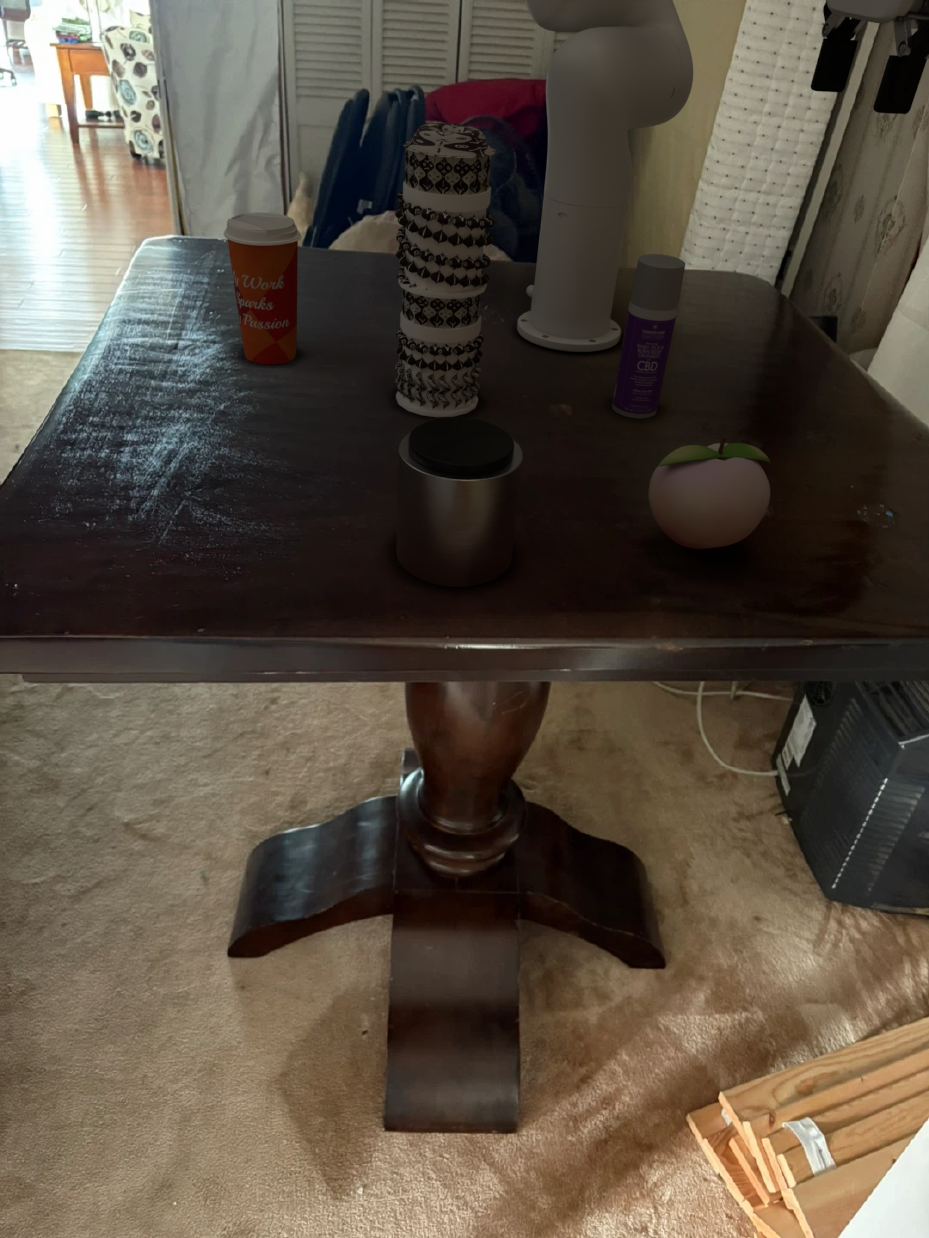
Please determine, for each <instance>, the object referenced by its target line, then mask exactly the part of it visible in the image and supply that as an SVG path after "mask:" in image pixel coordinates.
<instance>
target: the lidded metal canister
mask: <svg viewBox="0 0 929 1238" xmlns="http://www.w3.org/2000/svg"><path fill="white" fill-rule="evenodd" d="M397 457H398V460H397V461H398V462H397V500H396V501H397V503H396V504H397V506H396V507H397V508H396V547H395V548H396V551H395V552H396V558H397V561H398V562H399V564H400V566H401V567H402V568H403V570H405V571H406V572H407V573H408V574H410V575H411V576H413V577H415V578H417V579H418V580H421V581H423V582H425V583H428V584H429V583H430V584H432V585H437V586H441V587H447V588H450V587H451V588H469V587H476V586H480V585H484V584H488V583H490V582H492V581H495V580H497V579H498V578H499V577H501V576H502V575H504V574H505V573H506V572H507V570H508V569H509V568H510V565H511V563H512V560H513V559H512V558H513V549H514V541H515V533H516V522H517V515H518V514H517V513H518V505H519V495H520V488H521V478H522V469H523V461H524V452H523V450H522V448H521V446H520V444H518V442H517V441H515V439H513V437H512V436H511V434H510V433H509V432H508V431H506V429H504V428H502V427H500V426H498V425H496V424H494V423H491V422H489V421H484V420H482V419H476V418H472V417H471V418H469V417H461V416H459V417H458V416H454V417H439V418H435V419H431V420H427V421H424V422H422V423H420V424H419V425H417V426H415V427H414V428H413V429H412V430H411V431H410V432H409V433H408V434H406V435H405V436H403V438H402V439H401V440H400V442H399V444H398V456H397Z"/></svg>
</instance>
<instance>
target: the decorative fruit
mask: <svg viewBox="0 0 929 1238" xmlns="http://www.w3.org/2000/svg"><path fill="white" fill-rule="evenodd" d="M759 461H763V462H765V463H767V464H771V460H770V458H769V457H768V455H767V454H766V453H764V451H762V450H761V449H760V448H758V447H756V446H754V445H751V444H748V443H742V442H734V443H733V442H731V443H727V435H725V434H723V435H722V436H721V438H720V442H718V443H713V444H710V445H707V446H705V445H700V444H687V445H684V446H680V447H678V448H676V449H673V451H671V452H670V453H668V454H667V455H666V456H665V457H664V458H663V459H662V460H661V461H660V462H659V463H658V465H657V466H656V468H655V469H654V471H653V473H652V475H651V477H650V481H649V484H648V504H649V508H650V512H651V514H652V516H653V518H654V520H655V522H656V524H657V526H658V527H659V529H661V531H662V532H663V533H664V534H665V535H666V536H667V537H668V538H669V539H670V540H671V541H673V542H674V543H676V544H678V545H680V546H682V547H685V548H689V549H693V550H705V549H706V550H707V549H713V548H721V547H727V546H730V545H734V544H736V543H738V542H740V541H743V540H745V539H746V538H747V537H748V536H749V535H751V534H752V533H753V532H754V531H755V529H756V528H757V527H758V525H759V524H760V523H761V521H762V519H763V518H764V516H765V514H766V512H767V510H768V507H769V504H770V500H771V486H770V481H769V479H768V476H767V474H766V472H765V471H764V468H763V467H762V465H761V464H760V462H759Z"/></svg>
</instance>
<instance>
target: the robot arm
mask: <svg viewBox="0 0 929 1238" xmlns="http://www.w3.org/2000/svg"><path fill="white" fill-rule="evenodd" d="M523 2H524V4H525V7H526V8H527V11H528V13H529V14H530V16H531V18H532V19H533V21H534V22H535V24H537V25H538V26H539V27H540V28H542V29H544V30H546V31H551V32H556V33H574V34H573V35H571V36H569V37H568V38H567V39H565V41H563V42H562V43H561V44H560V45H559V47H558V48H557V49H556V51H555V53H553V56H552V58H551V60H550V63H549V66H548V70H547V73H546V81H545V104H546V116H547V117H546V119H547V151H546V152H547V154H546V167H545V178H544V188H543V200H542V209H541V219H540V220H541V221H540V228H539V238H538V247H537V256H536V265H535V275H534V284H530V285H528V286H527V287H526V290H525V291H526V294H527V296H529V297H530V298H531V305H530V310H527V311H526V312H523V313H522V314H521V315H520V316H519V317H518V318H517V321H516V322H517V324H516V330H517V333H518V334H519V335H520V336H521V337H522V338H523V339H524V340H526V341H528V342H530V343H532V344H534V345H536V346H539V347H542V348H546V349H550V350H554V351H561V352H570V353H593V352H599V351H604V350H607V349H611V348H612V347H615V346H616V345H617V344H618V343H619V342H620V339H621V335H622V328H621V327H620V325H619V324H618V323H617V322H616V321H615V320H613V319H611V316H612V309H613V302H614V297H615V291H616V283H617V278H618V274H619V273H618V272H619V266H620V260H621V255H622V248H623V241H624V235H625V229H626V222H627V216H628V211H629V203H630V196H631V189H632V182H633V181H632V179H633V165H632V163H633V162H632V155H631V150H630V144H629V137H628V130H637V129H644V128H649V127H655V126H660V125H663V124H665V123H667V122H669V121H671V120H672V119H673V118H675V117H676V116H678V114H679V113H680V112H681V111H682V110H683V108H684V107H685V105H686V104H687V101H688V99H689V98H690V95H691V92H692V88H693V81H694V63H693V57H692V52H691V48H690V44H689V42H688V38H687V36H686V33H685V30H684V27H683V25H682V22H681V19H680V16H679V14H678V13H679V12H678V11H677V8H676V6H675V3H674V0H523ZM822 14H823V19H824V23H823V25H822V27H821V37H822V38H823V39H822V42H821V45H820V50H819V52H818V57H817V61H816V64H815V68H814V72H813V75H812V79H811V81H810V89H811V90H812V91H813V92H822V93H823V92H824V93H842V92H843V91H844V90H845V89H846V85H847V82H848V78H849V75H850V72H851V68H852V65H853V62H854V57H855V54H856V52H857V47H858V42H859V40H858V39H857V40H856V39H854V38H855V36H856V35H857V34H858V32H859V31H860V30H861V29H862V27H863V26H864V25H865V24H866V22H869V23H874V24H881V25H883V24H885V25H886V24H889V23H891V22H892V24H893V33H894V42H895V53H896V54H895V55H894V54H889V55H888V59H887V61H886V64H885V68H884V71H883V74H882V77H881V80H880V84H879V86H878V90H877V93H876V96H875V99H874V103H873V106H872V107H873V111H874V112H876V113H878V114H893V115H894V114H895V115H907V114H908V113H909V112H910V111H911V109H912V107H913V104H914V100H915V97H916V94H917V91H918V89H919V85H920V82H921V79H922V76H923V74H924V70H925V68H926V64H927V61H928V60H929V0H825V3H824V5H823V8H822ZM912 30H916V31H914V33H912Z"/></svg>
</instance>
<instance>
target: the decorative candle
mask: <svg viewBox="0 0 929 1238" xmlns="http://www.w3.org/2000/svg"><path fill="white" fill-rule="evenodd" d="M402 146H403V147H404V149H405V171H404V173H405V174H404V181H403V183H402V191H401V192H400V191H398V192H397V195H395V197H394V198H395V200H396V201H397V202H398V206H397V207H396V209H395V211H394V217H396V218H397V223H398V224H399V225H401V226H400V227H399V228H398V229H397V234H396V236H395V239H396V241H397V242H398V245H399V246H398V250H396V252H395V257H396V258H397V259H398V264H399V265H400V267H399V269H398V273H397V274H396V279H397V283H398V285H399V286H400V288H401V289H402V302H401V303H402V304H401V311H400V312H399V313H400V317H399V318H400V319H399V328H398V331H397V332H396V333H395V336H396V338H397V339H398V346H396V349H395V352H396V354H398V358H399V359H398V360H397V362H396V364H395V367H394V370H395V372H396V374H397V377H396V379H395V381H394V384H395V385H394V386H395V387H396V388H397V392H396V394H395V399H396V401H397V405H399V406H400V407H402V408H403V409H405V410H406V411H407V412H409V413H414V414H416V415H420V416H423V417H424V416H425V417H431V418H451V417H458V416H462V415H466V414H468V413H470V412H471V411H474V410H475V409H476V408H477V405H478V402H479V398H478V393H479V390H480V388H481V384H480V383H479V382H478V381H479V380H480V375H481V374H482V369H481V368H480V367H479V363H480V362H481V358H482V357H483V352H482V350H480V348H481V347H482V346H483V345H482V343H483V342H484V339H485V338H484V336H483V335H482V334H481V331H482V330H481V328H482V315H481V313H480V310H481V305H482V298H481V297H482V296H481V295H482V294H483V293H485V291H486V289H487V286H488V282H489V280H490V276H489V275H488V273H486V272H485V271H484V269H486V268H488V267H489V266H490V265H491V262H492V261H491V258H490V257H489V256H488V255H486V253H484V247H485V249H486V248H487V247H488V246H491V245H492V244H493V242H494V241H495V237H494V235H492V234H491V233H490V232H489V229H490V228H492V227H494V226H495V224H496V219H495V217H494V216H493V215H492V214H490V212H489V211H488V212H487V209H488V208H489V206H490V204H491V196H492V187H491V186H490V176H491V171H492V168H491V167H492V166H491V159H492V156H493V155H495V153H496V152H497V150H496V149H494V148H493V147H492V146H490V144H489V142H488V140H487V138H486V136H485V134H484V132H483V131H481V130H479V129H478V128H476V127H473V126H471V125H466V124H465V125H464V124H459V123H446V122H444V123H443V122H442V123H441V122H436V123H434V122H433V123H427V124H422V125H421V126H419V128H417V130H415V131H414V133H413V135H412V137H411V138H410V140H409V141H406V142H405V143H403V144H402Z"/></svg>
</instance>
